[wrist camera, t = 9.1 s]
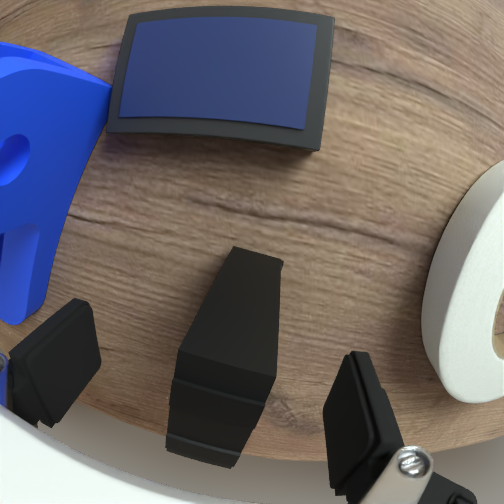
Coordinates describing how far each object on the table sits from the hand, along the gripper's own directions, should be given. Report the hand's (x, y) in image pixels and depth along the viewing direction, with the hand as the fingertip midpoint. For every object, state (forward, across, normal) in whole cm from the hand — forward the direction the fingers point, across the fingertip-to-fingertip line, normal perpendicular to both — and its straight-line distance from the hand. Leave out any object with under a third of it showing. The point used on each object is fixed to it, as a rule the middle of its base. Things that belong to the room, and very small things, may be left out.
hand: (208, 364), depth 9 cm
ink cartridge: (+5, -1, 0) cm, 5 cm away
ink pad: (+5, +2, -10) cm, 12 cm away
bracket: (+5, +14, -4) cm, 15 cm away
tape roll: (+5, -17, -4) cm, 18 cm away
